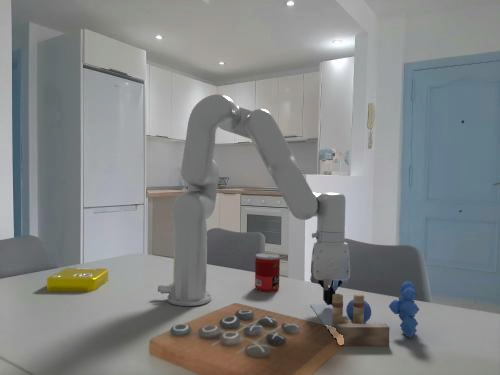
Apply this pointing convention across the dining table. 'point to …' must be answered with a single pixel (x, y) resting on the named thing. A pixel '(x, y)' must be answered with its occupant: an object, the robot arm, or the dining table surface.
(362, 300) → the pin right
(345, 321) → the pin front
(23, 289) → the dining table surface
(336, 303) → the pin left
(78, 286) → the element tile
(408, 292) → the grapes
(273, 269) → the canned food
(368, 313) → the ball
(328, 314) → the lane mark
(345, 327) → the back wall
